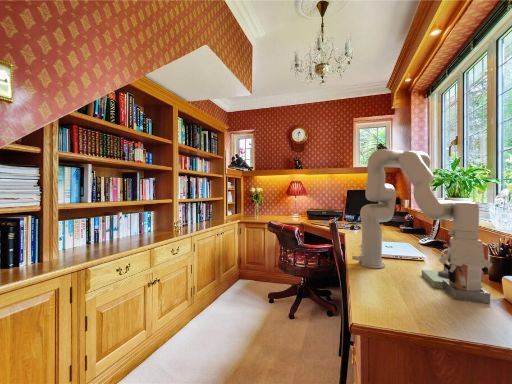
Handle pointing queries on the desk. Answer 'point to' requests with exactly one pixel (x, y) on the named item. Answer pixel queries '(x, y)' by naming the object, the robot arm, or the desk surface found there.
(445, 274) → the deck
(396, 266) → the desk surface
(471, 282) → the small box
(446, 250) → the watch
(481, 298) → the grey tray
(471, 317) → the desk surface
